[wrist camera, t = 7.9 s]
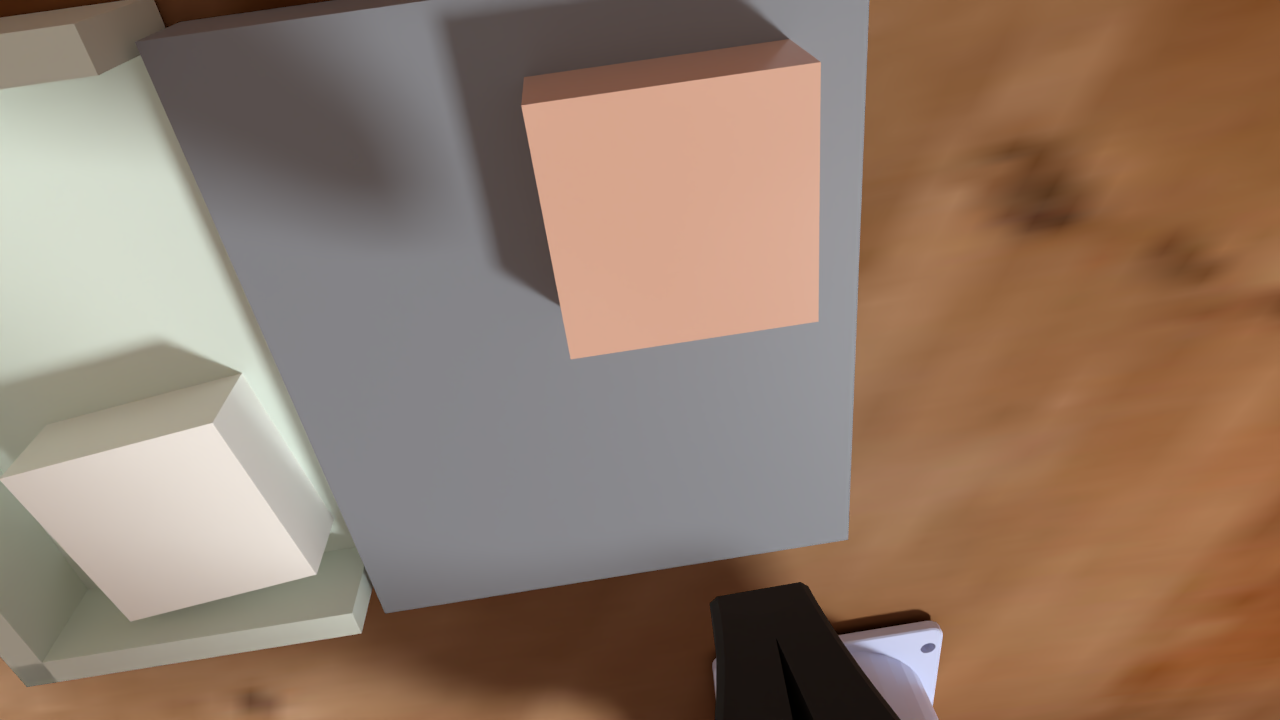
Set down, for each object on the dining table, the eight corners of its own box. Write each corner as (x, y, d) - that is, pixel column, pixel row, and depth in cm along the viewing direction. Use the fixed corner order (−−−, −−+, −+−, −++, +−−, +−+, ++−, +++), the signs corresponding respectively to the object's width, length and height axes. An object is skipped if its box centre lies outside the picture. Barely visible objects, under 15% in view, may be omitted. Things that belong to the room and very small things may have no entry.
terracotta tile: (792, 277, 17) (818, 321, 16) (568, 311, 17) (570, 359, 16) (789, 39, 15) (820, 62, 13) (523, 77, 15) (521, 105, 13)
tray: (381, 549, 23) (361, 633, 21) (83, 596, 23) (27, 686, 20) (152, -4, 15) (74, 23, 13) (-311, 61, 15) (-485, 102, 12)
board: (826, 491, 24) (848, 539, 22) (396, 559, 23) (385, 613, 22) (836, -71, 16) (871, -63, 14) (179, 22, 15) (134, 41, 14)
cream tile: (334, 518, 22) (316, 574, 20) (162, 563, 22) (130, 621, 20) (242, 372, 19) (212, 422, 17) (46, 424, 19) (-2, 479, 17)
